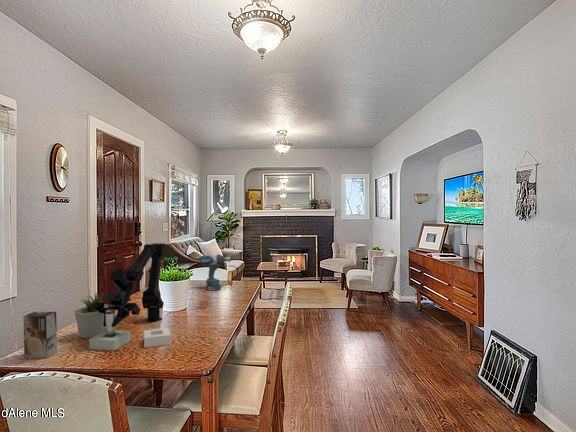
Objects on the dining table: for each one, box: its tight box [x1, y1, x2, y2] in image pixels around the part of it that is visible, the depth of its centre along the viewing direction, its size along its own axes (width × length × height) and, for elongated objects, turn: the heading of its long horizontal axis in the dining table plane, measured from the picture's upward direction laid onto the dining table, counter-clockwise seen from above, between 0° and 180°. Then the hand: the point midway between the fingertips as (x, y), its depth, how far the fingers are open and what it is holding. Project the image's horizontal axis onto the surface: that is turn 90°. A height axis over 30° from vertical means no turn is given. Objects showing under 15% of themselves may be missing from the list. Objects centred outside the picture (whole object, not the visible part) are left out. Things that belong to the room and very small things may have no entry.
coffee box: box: [22, 311, 58, 359], centre depth 137 cm, size 9×6×16 cm
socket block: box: [143, 327, 171, 349], centre depth 150 cm, size 10×10×4 cm
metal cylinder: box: [105, 309, 116, 337], centre depth 147 cm, size 4×4×13 cm
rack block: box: [88, 330, 132, 351], centre depth 148 cm, size 11×11×4 cm
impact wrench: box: [198, 253, 232, 292], centre depth 250 cm, size 8×23×25 cm, turn 89°
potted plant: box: [73, 291, 107, 339], centre depth 158 cm, size 13×14×20 cm
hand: (108, 326), depth 146 cm, fingers closed on metal cylinder, 3 cm apart
